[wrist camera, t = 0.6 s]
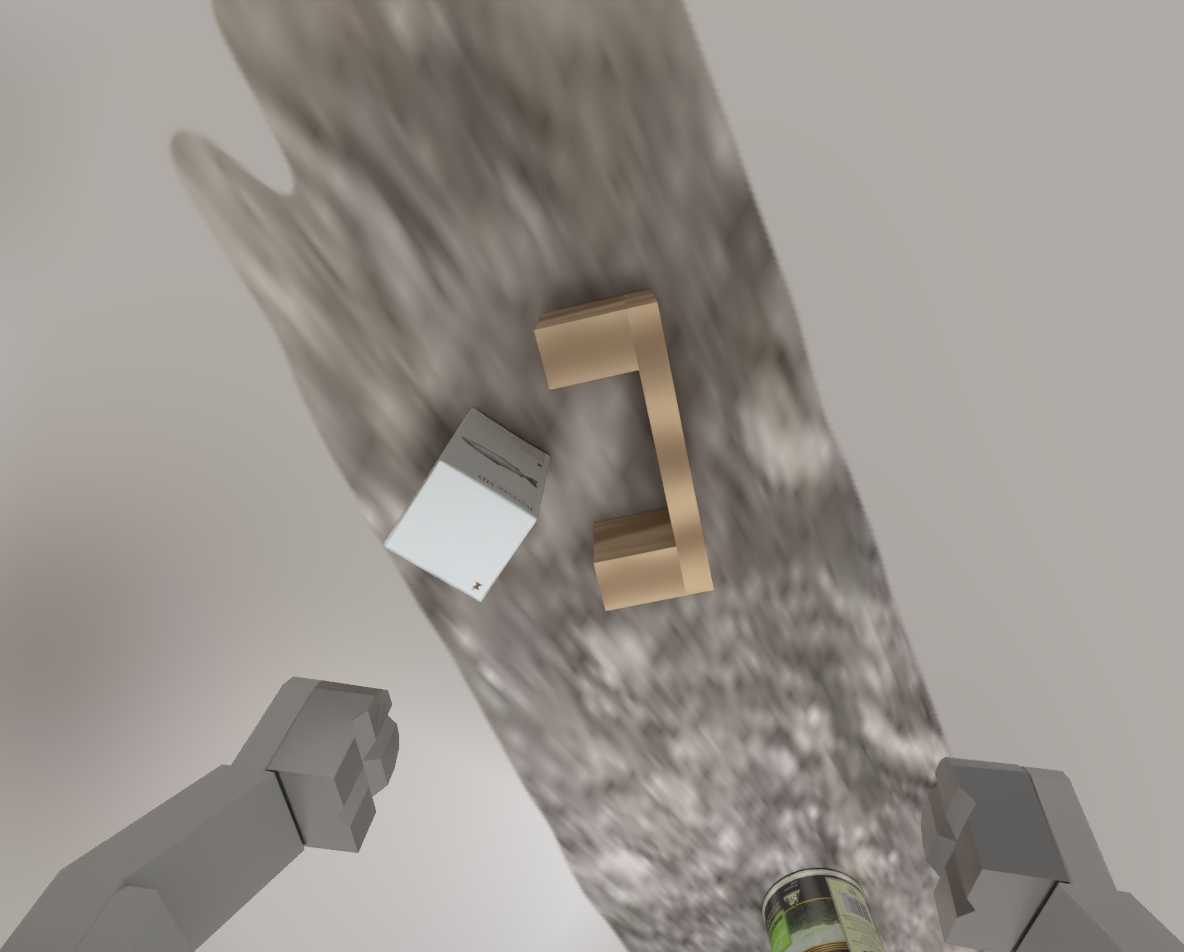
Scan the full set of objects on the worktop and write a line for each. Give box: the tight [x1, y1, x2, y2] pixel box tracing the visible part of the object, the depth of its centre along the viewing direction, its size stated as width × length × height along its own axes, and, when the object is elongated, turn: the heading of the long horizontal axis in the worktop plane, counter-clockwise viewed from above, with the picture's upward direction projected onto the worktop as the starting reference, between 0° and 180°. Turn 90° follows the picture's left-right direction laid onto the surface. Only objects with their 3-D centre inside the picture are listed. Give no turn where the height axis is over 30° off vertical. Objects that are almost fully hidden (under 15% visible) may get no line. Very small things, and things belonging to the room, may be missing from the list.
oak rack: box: [534, 289, 714, 611], centre depth 54 cm, size 21×8×7 cm, turn 13°
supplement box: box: [384, 408, 550, 602], centre depth 53 cm, size 7×7×13 cm
